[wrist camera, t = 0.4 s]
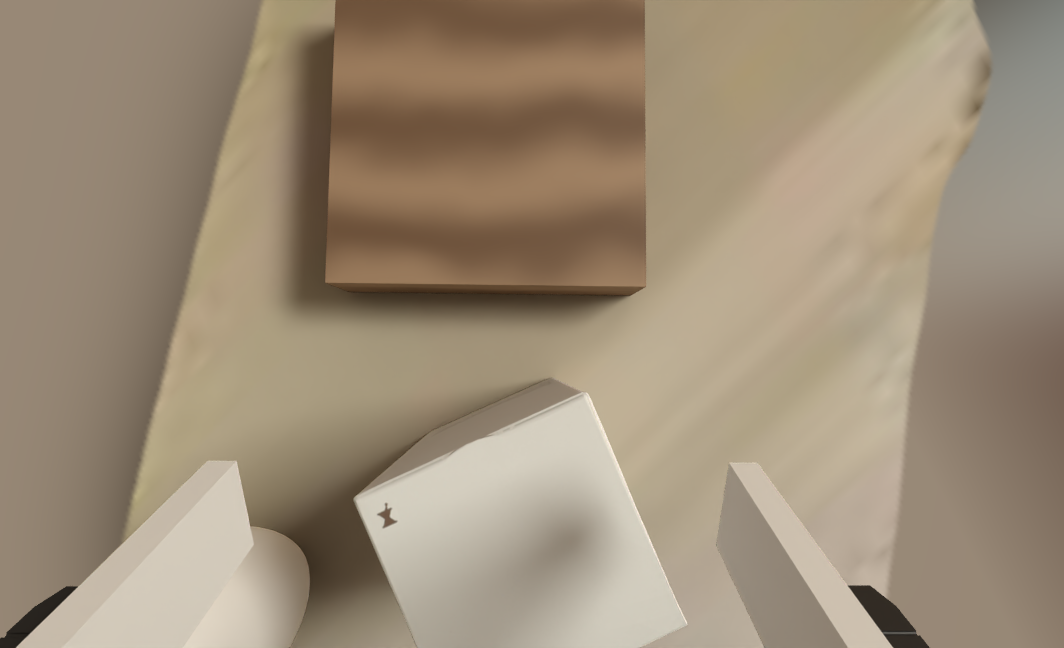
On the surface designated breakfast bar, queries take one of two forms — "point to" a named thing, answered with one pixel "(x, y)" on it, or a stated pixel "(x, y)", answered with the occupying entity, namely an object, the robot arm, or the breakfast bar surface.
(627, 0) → the walnut riser
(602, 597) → the supplement box
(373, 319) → the breakfast bar surface
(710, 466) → the breakfast bar surface
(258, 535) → the white teardrop-shaped piece
